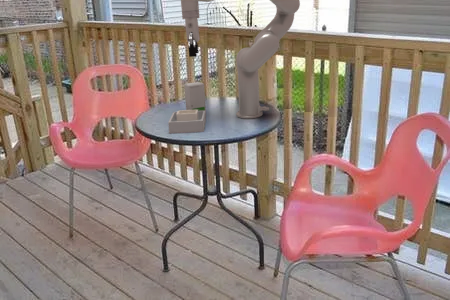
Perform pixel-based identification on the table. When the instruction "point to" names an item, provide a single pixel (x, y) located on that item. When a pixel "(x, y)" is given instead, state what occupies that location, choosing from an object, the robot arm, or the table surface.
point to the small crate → (187, 115)
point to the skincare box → (195, 96)
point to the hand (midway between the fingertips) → (193, 54)
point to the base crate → (187, 124)
